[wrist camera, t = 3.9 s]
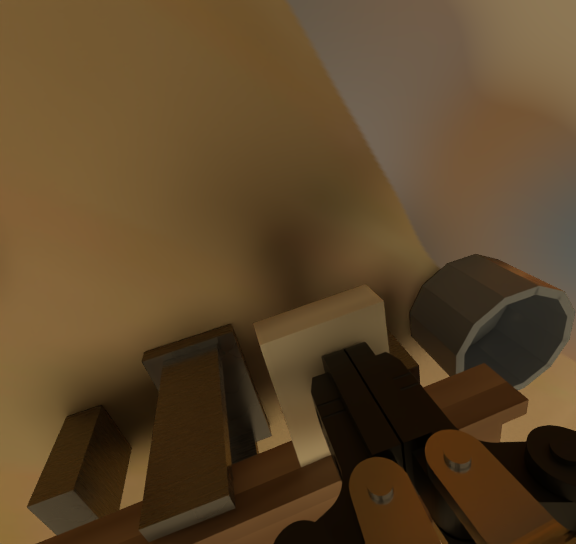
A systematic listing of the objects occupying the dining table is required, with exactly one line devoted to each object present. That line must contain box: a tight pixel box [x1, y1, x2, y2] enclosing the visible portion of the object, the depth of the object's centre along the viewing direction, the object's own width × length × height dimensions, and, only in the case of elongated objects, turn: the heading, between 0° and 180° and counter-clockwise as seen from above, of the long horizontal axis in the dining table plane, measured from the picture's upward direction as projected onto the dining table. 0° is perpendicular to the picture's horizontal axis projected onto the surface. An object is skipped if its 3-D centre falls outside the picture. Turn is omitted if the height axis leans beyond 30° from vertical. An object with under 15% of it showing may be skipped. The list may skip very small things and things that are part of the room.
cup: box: [410, 254, 575, 390], centre depth 21 cm, size 8×8×4 cm
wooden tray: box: [37, 284, 528, 544], centre depth 12 cm, size 12×21×4 cm, turn 103°
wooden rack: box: [27, 324, 420, 542], centre depth 17 cm, size 9×19×9 cm, turn 103°
